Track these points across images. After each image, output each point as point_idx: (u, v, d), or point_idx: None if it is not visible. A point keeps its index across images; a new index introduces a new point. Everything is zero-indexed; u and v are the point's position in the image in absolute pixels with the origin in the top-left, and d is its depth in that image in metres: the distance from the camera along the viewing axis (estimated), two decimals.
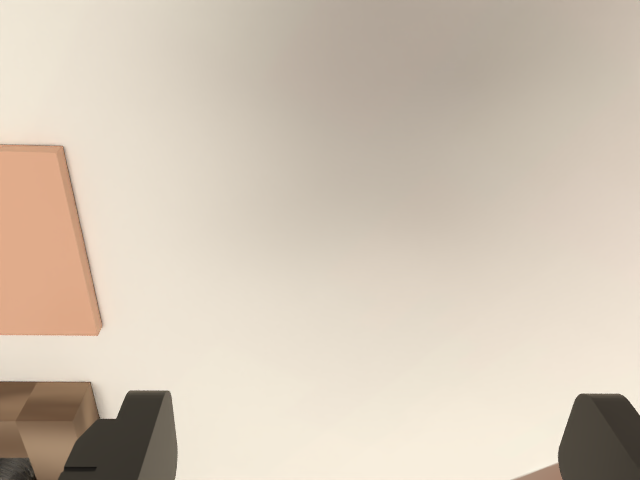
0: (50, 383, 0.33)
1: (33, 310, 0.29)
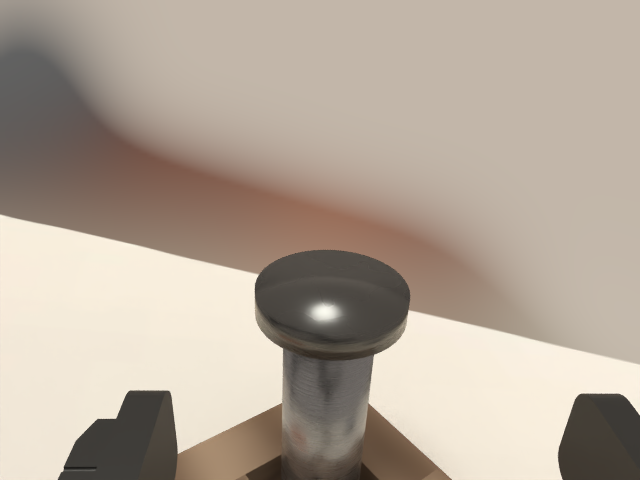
0: None
1: None
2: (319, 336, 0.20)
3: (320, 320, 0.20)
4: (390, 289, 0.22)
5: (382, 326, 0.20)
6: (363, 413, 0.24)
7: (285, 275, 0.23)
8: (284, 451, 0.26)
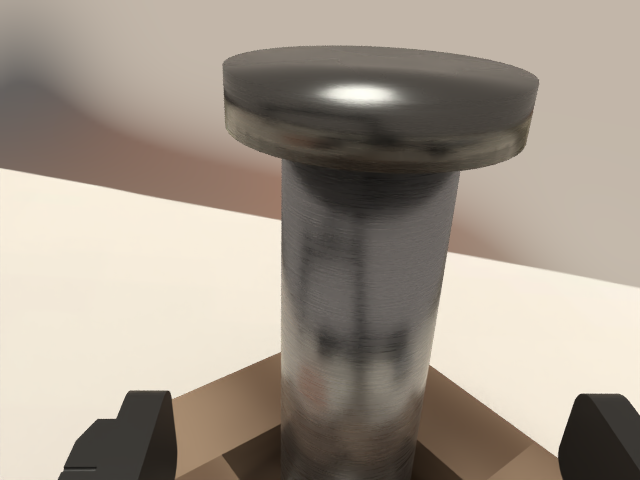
0: None
1: None
2: (363, 109, 0.09)
3: (362, 88, 0.09)
4: (492, 70, 0.11)
5: (500, 96, 0.09)
6: (431, 331, 0.13)
7: (284, 57, 0.12)
8: (285, 408, 0.15)
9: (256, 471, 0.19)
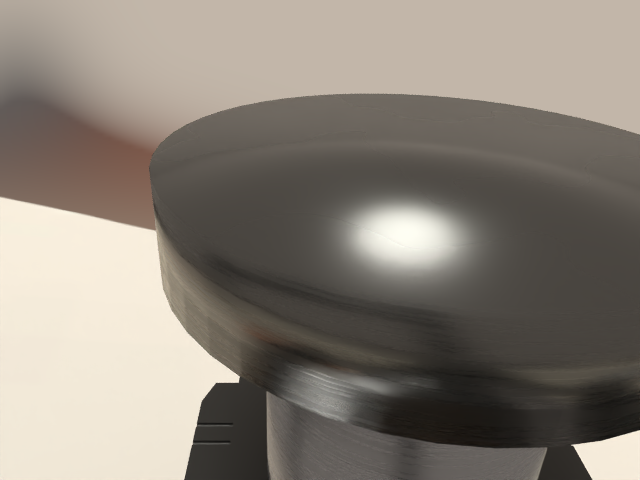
0: None
1: None
2: (445, 324, 0.04)
3: (432, 248, 0.04)
4: None
5: None
6: None
7: (270, 129, 0.07)
8: None
9: None
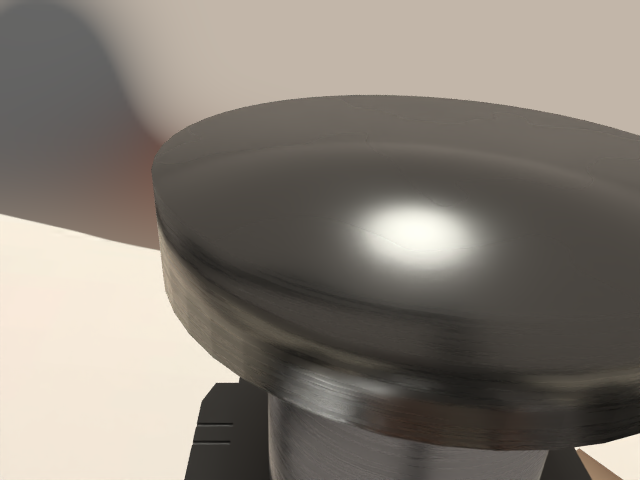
0: None
1: None
2: (448, 327, 0.04)
3: (435, 250, 0.04)
4: None
5: None
6: None
7: (271, 131, 0.07)
8: None
9: None
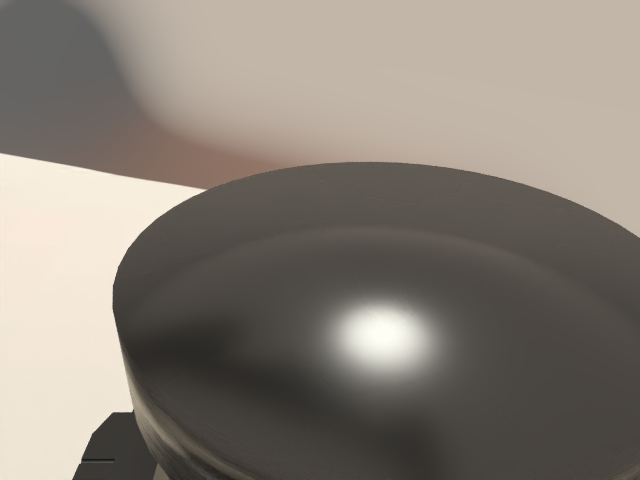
0: None
1: None
2: None
3: (368, 394, 0.04)
4: (595, 254, 0.06)
5: None
6: None
7: (236, 222, 0.07)
8: None
9: None
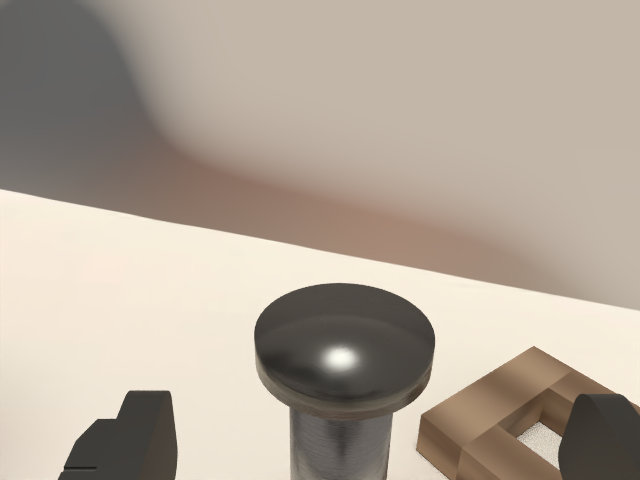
0: (444, 472, 0.33)
1: None
2: (332, 393, 0.17)
3: (332, 373, 0.17)
4: (411, 329, 0.19)
5: (405, 377, 0.17)
6: (384, 471, 0.21)
7: (289, 316, 0.20)
8: None
9: None
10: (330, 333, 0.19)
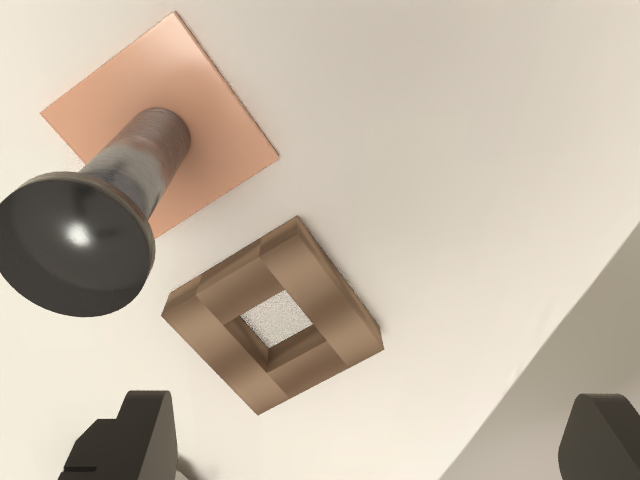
0: (271, 232, 0.40)
1: (225, 162, 0.37)
2: None
3: (8, 242, 0.22)
4: (79, 302, 0.23)
5: (16, 289, 0.23)
6: None
7: (79, 211, 0.21)
8: (111, 142, 0.29)
9: None
10: (60, 244, 0.22)
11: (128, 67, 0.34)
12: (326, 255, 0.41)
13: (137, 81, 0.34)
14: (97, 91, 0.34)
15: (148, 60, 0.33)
